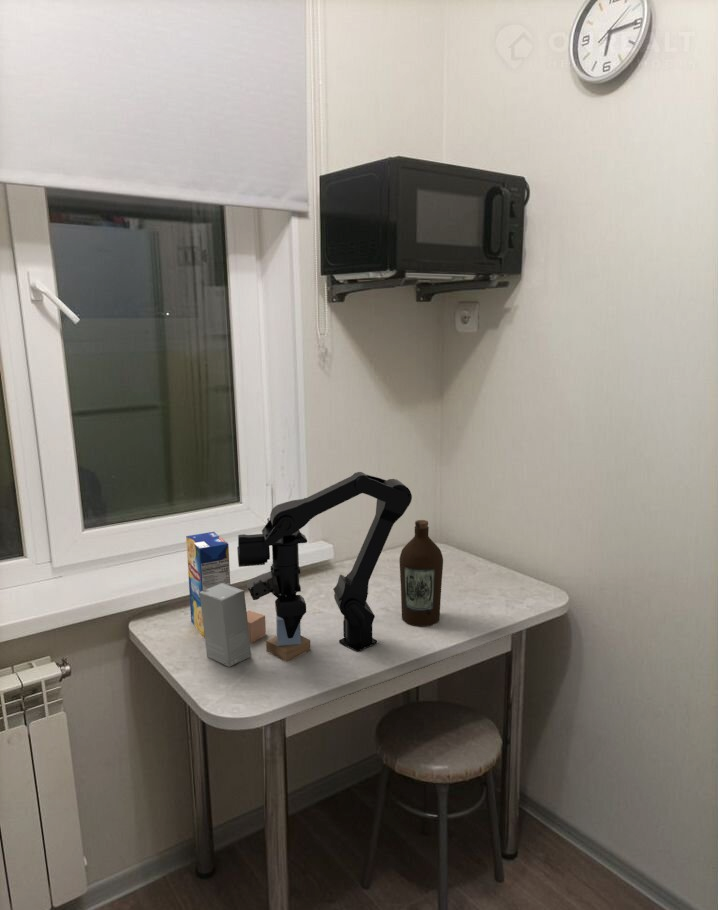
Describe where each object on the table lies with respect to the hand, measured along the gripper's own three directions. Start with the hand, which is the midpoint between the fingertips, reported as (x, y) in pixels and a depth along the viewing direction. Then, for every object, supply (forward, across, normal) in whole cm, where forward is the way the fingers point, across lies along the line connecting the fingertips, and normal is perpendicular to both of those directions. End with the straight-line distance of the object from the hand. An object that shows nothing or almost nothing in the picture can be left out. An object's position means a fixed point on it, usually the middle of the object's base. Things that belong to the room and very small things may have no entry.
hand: (287, 628), depth 152 cm
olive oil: (+6, -9, +34) cm, 36 cm away
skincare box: (+6, 0, -14) cm, 15 cm away
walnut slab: (+6, 0, 0) cm, 6 cm away
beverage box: (+6, -17, -17) cm, 24 cm away
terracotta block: (+5, -9, -8) cm, 13 cm away
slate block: (+3, 0, 0) cm, 3 cm away
